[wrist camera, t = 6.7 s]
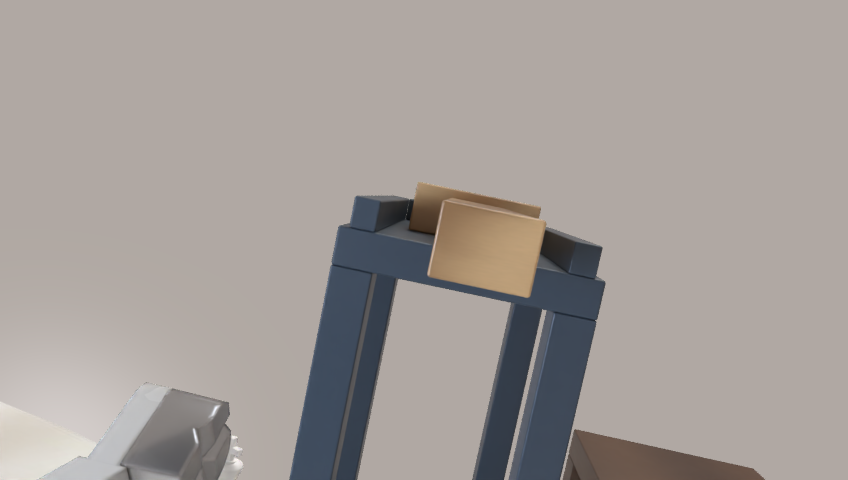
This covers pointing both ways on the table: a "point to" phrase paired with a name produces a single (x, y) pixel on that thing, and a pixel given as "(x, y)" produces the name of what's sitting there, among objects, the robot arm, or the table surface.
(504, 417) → the tall stand
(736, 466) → the low stand
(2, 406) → the table surface
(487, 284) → the crossed tan timber pieces
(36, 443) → the table surface
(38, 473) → the table surface
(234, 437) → the chess piece
